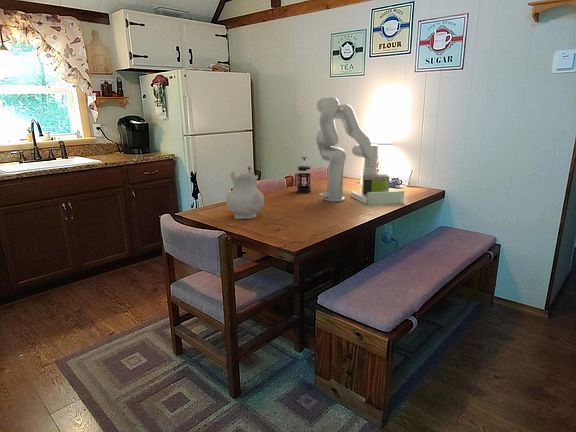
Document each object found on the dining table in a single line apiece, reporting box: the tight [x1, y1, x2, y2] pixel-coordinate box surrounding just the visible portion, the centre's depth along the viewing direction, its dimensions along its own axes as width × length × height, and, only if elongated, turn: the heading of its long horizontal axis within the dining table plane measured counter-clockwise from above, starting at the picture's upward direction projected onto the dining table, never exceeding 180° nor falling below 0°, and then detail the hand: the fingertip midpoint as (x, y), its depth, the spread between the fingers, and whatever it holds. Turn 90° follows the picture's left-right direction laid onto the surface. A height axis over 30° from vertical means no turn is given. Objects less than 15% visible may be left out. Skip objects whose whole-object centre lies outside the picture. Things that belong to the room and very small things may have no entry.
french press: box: [294, 156, 312, 194], centre depth 252 cm, size 12×9×23 cm
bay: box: [350, 190, 405, 206], centre depth 234 cm, size 23×24×7 cm
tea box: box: [361, 173, 390, 197], centre depth 234 cm, size 15×10×15 cm
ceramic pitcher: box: [225, 166, 265, 220], centre depth 196 cm, size 22×20×25 cm
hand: (368, 193), depth 244 cm, fingers closed
